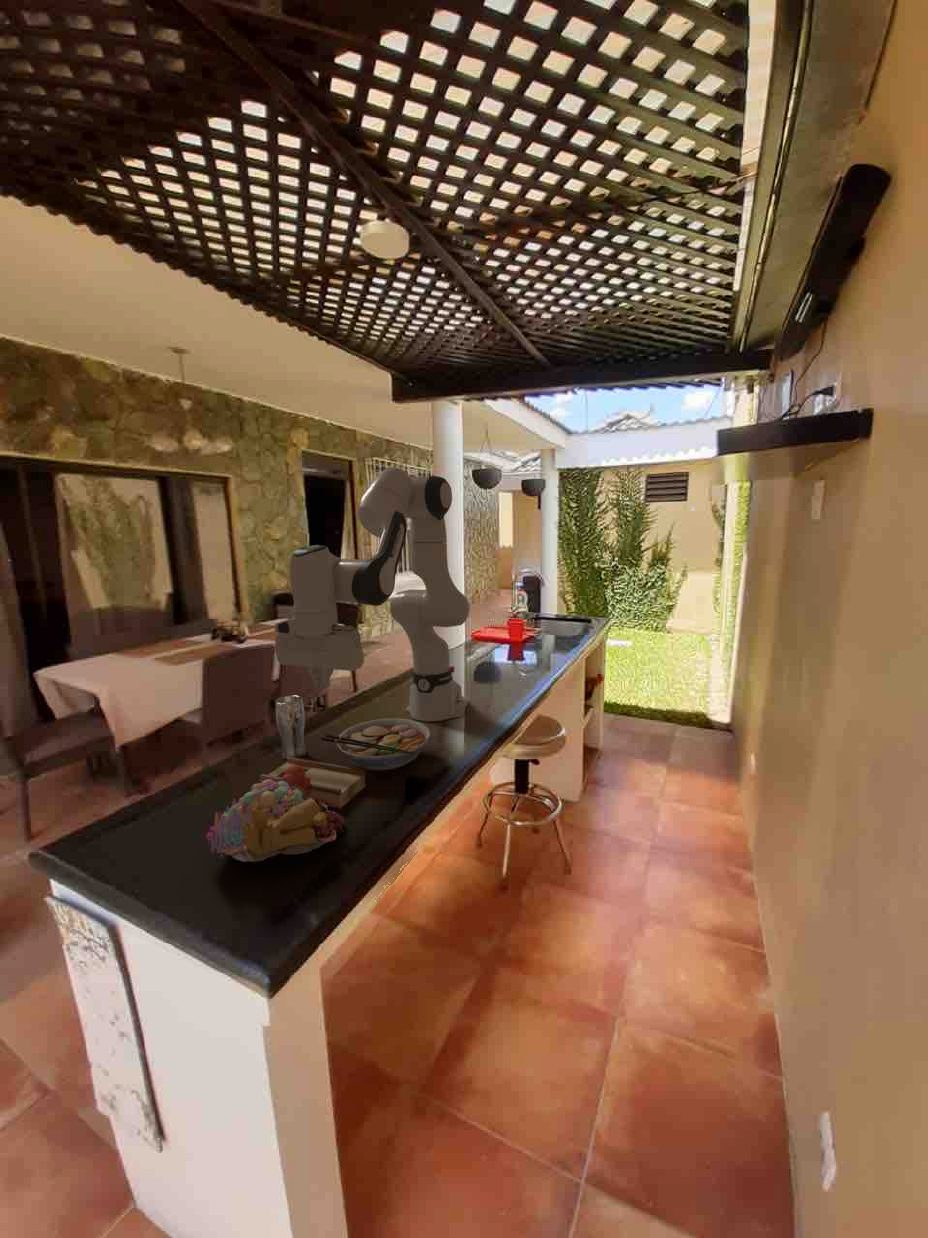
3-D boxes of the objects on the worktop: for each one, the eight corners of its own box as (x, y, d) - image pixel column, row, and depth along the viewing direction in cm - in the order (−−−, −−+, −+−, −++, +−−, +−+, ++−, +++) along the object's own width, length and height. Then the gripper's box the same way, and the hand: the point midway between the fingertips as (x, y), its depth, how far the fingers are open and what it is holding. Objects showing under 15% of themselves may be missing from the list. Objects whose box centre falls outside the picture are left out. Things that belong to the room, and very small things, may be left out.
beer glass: (286, 763, 122) (280, 706, 120) (275, 754, 128) (270, 699, 125) (312, 754, 127) (307, 699, 124) (301, 746, 132) (296, 693, 129)
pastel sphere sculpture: (365, 838, 91) (369, 790, 90) (233, 882, 74) (237, 823, 74) (303, 792, 108) (306, 751, 108) (185, 820, 92) (188, 772, 92)
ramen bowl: (451, 752, 126) (450, 722, 124) (404, 796, 105) (402, 761, 104) (371, 738, 136) (369, 710, 135) (314, 775, 116) (311, 743, 114)
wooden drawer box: (290, 772, 118) (289, 756, 117) (365, 786, 110) (364, 769, 109) (261, 792, 109) (259, 775, 108) (340, 808, 101) (338, 791, 101)
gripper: (367, 622, 101) (371, 686, 104) (288, 619, 109) (294, 678, 111) (349, 629, 96) (355, 696, 98) (267, 624, 103) (274, 687, 106)
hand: (322, 686), depth 105 cm, fingers closed
